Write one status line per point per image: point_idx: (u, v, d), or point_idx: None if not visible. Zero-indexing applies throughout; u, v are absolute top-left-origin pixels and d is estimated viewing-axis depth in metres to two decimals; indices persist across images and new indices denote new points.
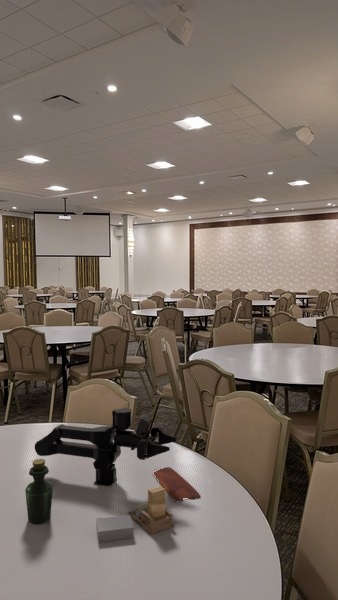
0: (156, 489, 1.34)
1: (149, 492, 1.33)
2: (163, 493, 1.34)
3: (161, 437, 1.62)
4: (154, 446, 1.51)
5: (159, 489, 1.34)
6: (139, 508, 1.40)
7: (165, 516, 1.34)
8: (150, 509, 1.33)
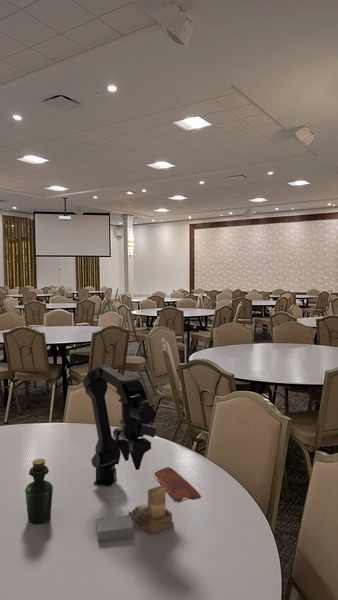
0: (156, 489, 1.34)
1: (149, 492, 1.33)
2: (163, 493, 1.34)
3: (126, 443, 1.52)
4: (141, 455, 1.42)
5: (159, 489, 1.34)
6: (139, 508, 1.40)
7: (165, 516, 1.34)
8: (150, 509, 1.33)
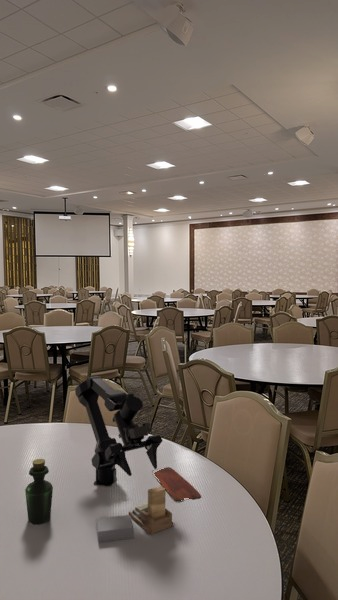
0: (156, 489, 1.34)
1: (149, 492, 1.33)
2: (163, 493, 1.34)
3: (150, 451, 1.46)
4: (122, 460, 1.39)
5: (159, 489, 1.34)
6: (139, 508, 1.40)
7: (165, 516, 1.34)
8: (150, 509, 1.33)
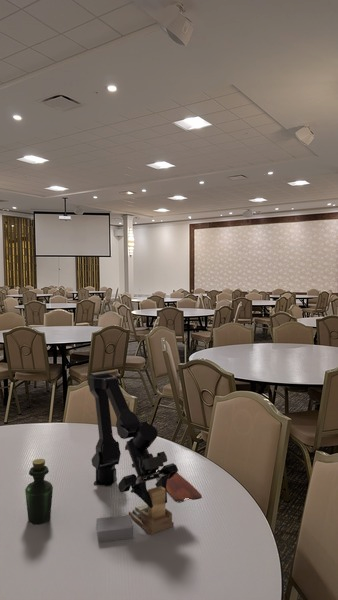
0: (156, 489, 1.34)
1: (149, 492, 1.33)
2: (163, 493, 1.34)
3: (159, 483, 1.38)
4: (142, 491, 1.33)
5: (159, 489, 1.34)
6: (139, 508, 1.40)
7: (165, 516, 1.34)
8: (150, 509, 1.33)
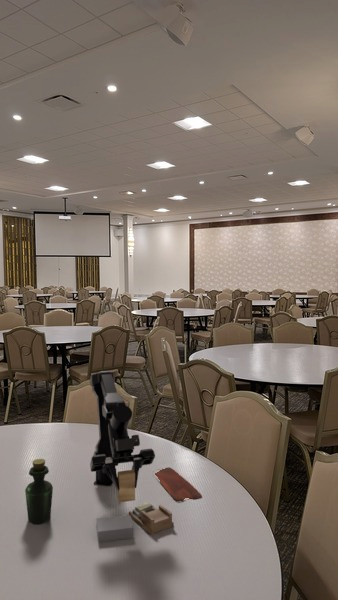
0: (125, 472, 1.30)
1: (118, 474, 1.30)
2: (132, 477, 1.29)
3: (133, 467, 1.34)
4: None
5: (128, 472, 1.30)
6: (139, 508, 1.40)
7: (165, 516, 1.34)
8: (118, 492, 1.29)
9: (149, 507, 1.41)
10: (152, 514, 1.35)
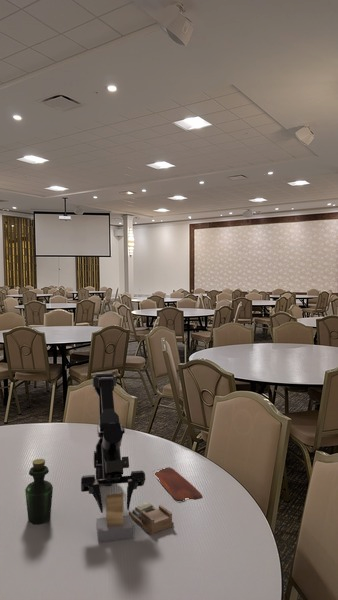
0: (113, 496, 1.30)
1: (106, 497, 1.30)
2: (120, 501, 1.29)
3: (127, 489, 1.33)
4: None
5: (117, 496, 1.29)
6: (139, 508, 1.40)
7: (165, 516, 1.34)
8: (106, 515, 1.29)
9: (149, 507, 1.41)
10: (152, 514, 1.35)
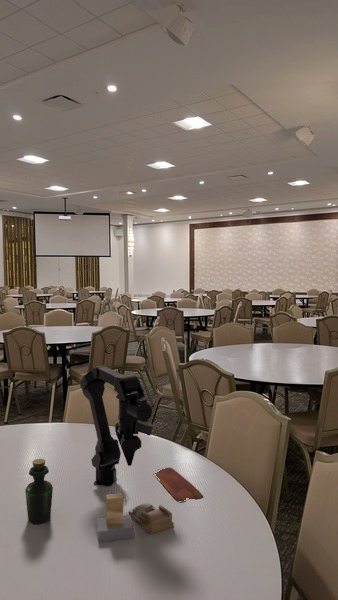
0: (113, 496, 1.29)
1: (106, 497, 1.30)
2: (120, 501, 1.29)
3: None
4: (132, 452, 1.45)
5: (117, 496, 1.29)
6: (139, 508, 1.40)
7: (165, 516, 1.34)
8: (106, 515, 1.29)
9: (149, 507, 1.41)
10: (152, 514, 1.35)
